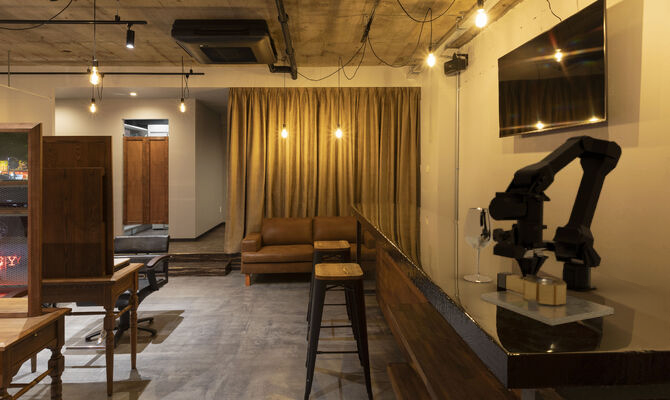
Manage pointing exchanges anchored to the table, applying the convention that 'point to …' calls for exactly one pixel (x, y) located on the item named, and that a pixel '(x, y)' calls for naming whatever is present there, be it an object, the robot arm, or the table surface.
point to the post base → (548, 306)
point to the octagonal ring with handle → (534, 288)
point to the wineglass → (478, 236)
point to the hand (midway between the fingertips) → (528, 283)
